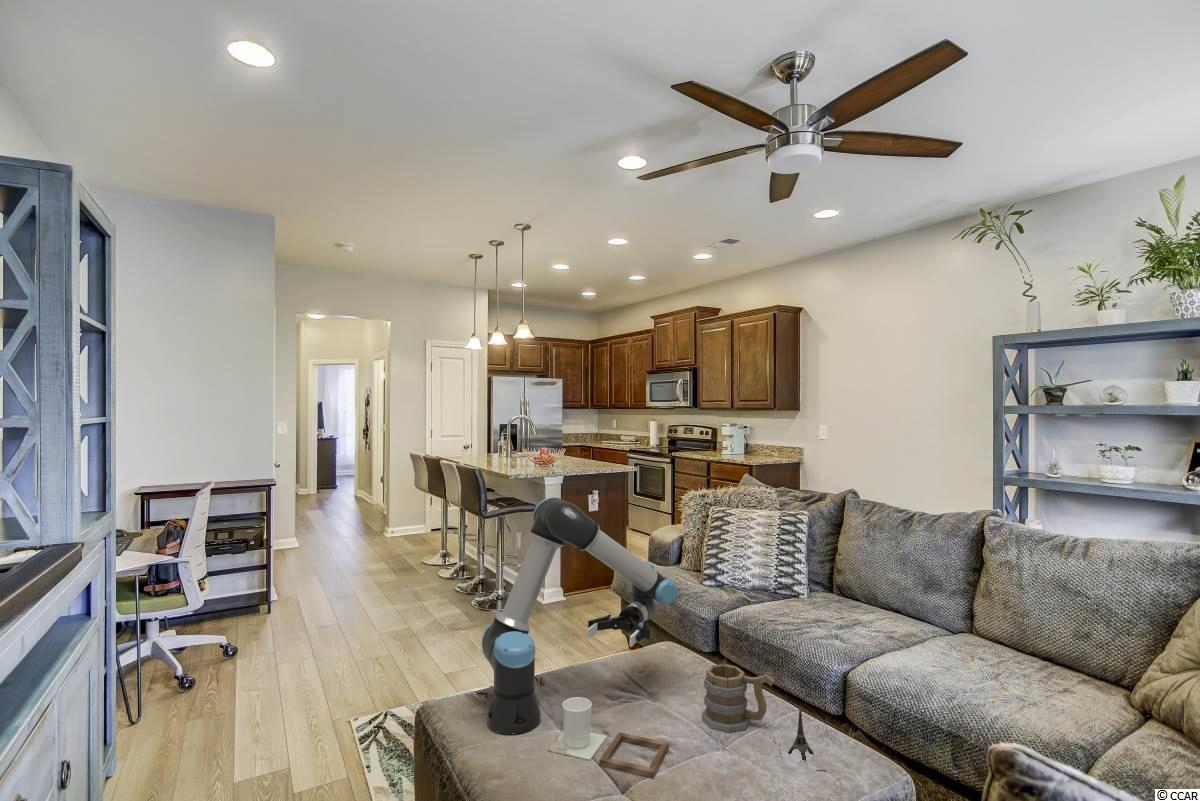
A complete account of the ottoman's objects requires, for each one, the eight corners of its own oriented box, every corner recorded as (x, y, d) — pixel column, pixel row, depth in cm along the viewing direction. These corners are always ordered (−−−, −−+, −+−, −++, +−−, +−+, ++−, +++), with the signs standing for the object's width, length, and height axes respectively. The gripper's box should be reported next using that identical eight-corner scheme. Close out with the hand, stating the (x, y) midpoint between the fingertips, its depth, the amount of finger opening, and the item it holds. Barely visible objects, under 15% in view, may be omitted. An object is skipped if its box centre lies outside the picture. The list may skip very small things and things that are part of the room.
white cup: (578, 731, 161) (578, 694, 161) (597, 742, 155) (597, 704, 156) (556, 742, 156) (556, 703, 156) (575, 753, 150) (575, 714, 150)
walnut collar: (599, 765, 145) (599, 759, 145) (618, 737, 158) (618, 732, 158) (653, 778, 140) (653, 772, 140) (668, 748, 153) (668, 742, 153)
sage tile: (547, 751, 152) (547, 749, 152) (567, 728, 163) (567, 727, 163) (589, 761, 147) (589, 759, 147) (607, 737, 159) (607, 735, 159)
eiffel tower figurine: (771, 739, 158) (771, 689, 159) (809, 740, 158) (809, 690, 158) (786, 772, 144) (785, 717, 144) (828, 774, 143) (827, 718, 143)
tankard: (697, 725, 165) (697, 671, 166) (711, 706, 176) (710, 656, 177) (769, 743, 156) (768, 686, 156) (778, 722, 167) (778, 668, 167)
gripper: (669, 635, 185) (649, 658, 166) (597, 623, 195) (570, 644, 175) (670, 611, 186) (649, 631, 166) (598, 600, 195) (570, 618, 176)
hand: (608, 638), depth 171 cm, fingers open, 13 cm apart
